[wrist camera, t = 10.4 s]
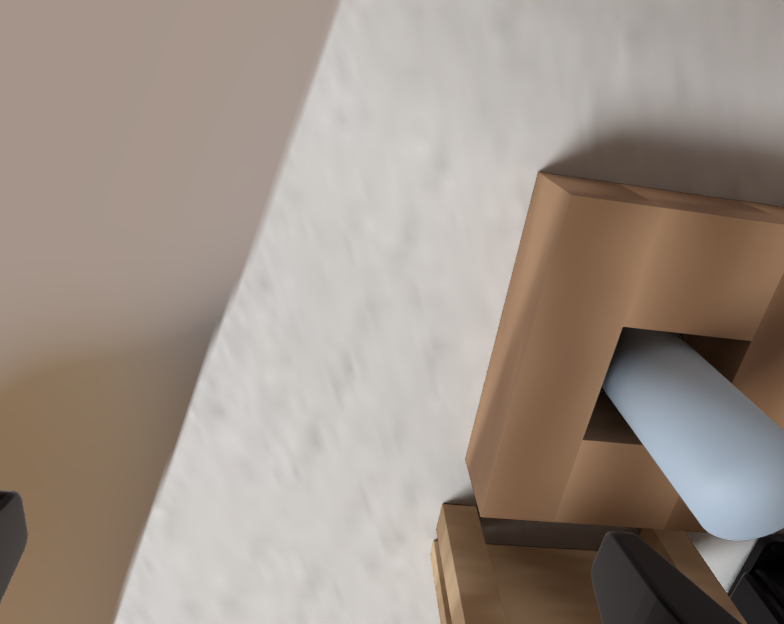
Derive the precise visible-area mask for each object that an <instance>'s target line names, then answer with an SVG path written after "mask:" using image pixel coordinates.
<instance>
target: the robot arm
mask: <svg viewBox="0 0 784 624" xmlns="http://www.w3.org/2000/svg"><path fill="white" fill-rule="evenodd" d="M27 537H28V531H27V525H26V519H25V513H24V506H23V501H22V497H21V495H20V494H19V493H18V492H15V491H6V490H0V603H1V600H2V598H3V596H4V594H5V591H6V589H7V587H8V585H9V583H10V581H11V578H12V576H13V574H14V572H15V569H16V567H17V565H18V563H19V560H20V558H21V556H22V554H23V552H24V549H25V546H26V543H27ZM591 576H592V583H593V587H594V591H595V595H596V599H597V603H598V607H599V611H600V615H601V620H602V624H742V623H741V622H740V621H738V620H737V619H736V618H735V617H734V616H733V615H731V614H730V613H729V612H728V611H727V610H725V609H724V608H723V607H722V606H721V605H719V604H718V603H717V602H716V601H715V600H714V599H712V598H711V597H710V596H709V595H708V594H706V593H705V592H704V591H703V590H702V589H700V588H699V587H698V586H697V585H696V584H695V583H693V582H692V581H691V580H690V579H689V578H687V577H686V576H685V575H684V574H683V573H681V572H680V571H679V570H678V569H677V568H676V567H674V566H673V565H672V564H671V563H670V562H668V561H667V560H666V559H665V558H664V557H662V556H661V555H660V554H659V553H658V552H657V551H655V550H654V549H653V548H652V547H651V546H649V545H648V544H647V543H646V542H645V541H643V540H642V539H641V538H640V537H639V536H637V535H636V534H634V533H632V532H625V531H609V532H608V533H606V534H605V536H604V538H603V541H602V543H601V545H600V548H599V550H598V553H597V555H596V558H595V560H594V562H593V565H592V571H591ZM728 596H729V597H730V599H731V600H732V602H733V603H734V605H735V606H736V608H737V609H738V611H739V612H740V614H741V615H742V617H743V618H744V620H745V621H746V623H747V624H784V535H774V534H771V535H767V536H764V537H762V538H761V539H760V540H759V541H758V542H757V544H756V546H755V548H754V549H753V551H752V553H751V555H750V556H749V558H748V560H747V562H746V563H745V565H744V567H743V569H742V570H741V572H740V574H739V576H738V577H737V579H736V581H735V583H734V585H733V586H732V588H731V590H730V592H729V593H728Z"/></svg>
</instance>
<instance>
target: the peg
mask: <svg viewBox="0 0 784 624" xmlns="http://www.w3.org/2000/svg"><path fill="white" fill-rule="evenodd" d="M602 388H603V390H604V391H605V392H606V394H607V395H608V397H609V398H610V399H611V401H612V402H613V404H614V405H615V406H616V408H617V409H618V410H619V412H620V413H621V415H622V416H623V417H624V419H625V420H626V422H627V423H628V424H629V426H630V427H631V428H632V430H633V431H634V433H635V434H636V435H637V437H638V438H639V440H640V441H641V442H642V444H643V445H644V447H645V448H646V449H647V451H648V452H649V453H650V455H651V456H652V458H653V459H654V460H655V462H656V463H657V465H658V466H659V467H660V469H661V470H662V471H663V473H664V474H665V476H666V477H667V478H668V480H669V481H670V483H671V484H672V485H673V487H674V488H675V490H676V491H677V492H678V494H679V495H680V496H681V498H682V499H683V501H684V502H685V503H686V505H687V506H688V508H689V509H690V510H691V512H692V513H693V515H694V516H695V517H696V519H697V520H698V521H699V523H700V524H701V525H702V527H703V528H704V529H705V530H706V531H707V532H709V533H710V534H712V535H714V536H716V537H719V538H722V539H726V540H737V541H741V540H751V539H756V538H760V537H764V536H767V535H769V534H772V533H774V532H776V531H779V530H781V529H782V528H784V430H783V429H782V428H781V427H780V426H778V425H777V424H776V423H775V422H774V421H773V420H772V419H771V418H770V417H768V416H767V415H766V414H765V413H764V412H763V411H762V410H761V409H760V408H758V407H757V406H756V405H755V404H754V403H753V402H752V401H751V400H750V399H748V398H747V397H746V396H745V395H744V394H743V393H742V392H741V391H740V390H738V389H737V388H736V387H735V386H734V385H733V384H732V383H731V382H729V381H728V380H727V379H726V378H725V377H724V376H723V375H722V374H721V373H719V372H718V371H717V370H716V369H715V368H714V367H713V366H712V365H711V364H709V363H708V362H707V361H706V360H705V359H704V358H703V357H702V356H701V355H699V354H698V353H697V352H696V351H695V350H694V349H693V348H692V347H691V346H689V345H688V344H687V343H686V342H685V341H684V340H683V339H682V338H681V337H679V336H678V335H677V334H676V333H675V332H666V331H657V330H648V329H639V328H630V327H623V328H622V331H621V334H620V336H619V339H618V342H617V345H616V348H615V350H614V353H613V356H612V359H611V362H610V364H609V367H608V370H607V373H606V376H605V378H604V381H603V384H602Z"/></svg>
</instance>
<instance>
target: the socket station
mask: <svg viewBox="0 0 784 624" xmlns="http://www.w3.org/2000/svg"><path fill="white" fill-rule="evenodd" d="M623 327H630V328H639V329H648V330H657V331H666V332H675V333H684V334H683V336H682V339H683V340H684V341H685V342H686V343H687V344H688V345H689V346H691V347H692V348H693V349H694V350H695V351H696V352H697V353H698V354H699V355H701V356H702V357H703V358H704V359H705V360H706V361H707V362H708V363H709V364H711V365H712V366H713V367H714V368H715V369H716V370H717V371H718V372H719V373H721V374H722V375H723V376H724V377H725V378H726V379H727V380H728V381H729V382H731V383H732V384H733V385H734V386H735V387H736V388H737V389H738V390H740V391H741V392H742V393H743V394H744V395H745V396H746V397H747V398H748V399H750V400H751V401H752V402H753V403H754V404H755V405H756V406H757V407H758V408H760V409H761V410H762V411H763V412H764V413H765V414H766V415H767V416H768V417H770V418H771V419H772V420H773V421H774V422H775V423H776V424H777V425H778V426H780V427H781V428H782V429H783V430H784V207H779V206H772V205H765V204H758V203H751V202H744V201H737V200H730V199H723V198H716V197H709V196H702V195H695V194H688V193H681V192H674V191H667V190H660V189H653V188H646V187H639V186H632V185H625V184H618V183H611V182H604V181H597V180H590V179H583V178H576V177H569V176H562V175H555V174H548V173H541V172H538V174H537V178H536V182H535V186H534V190H533V194H532V198H531V202H530V206H529V210H528V214H527V218H526V222H525V225H524V229H523V233H522V237H521V241H520V245H519V249H518V253H517V257H516V261H515V265H514V269H513V273H512V277H511V281H510V285H509V289H508V292H507V296H506V300H505V304H504V308H503V312H502V316H501V320H500V324H499V328H498V332H497V336H496V340H495V344H494V348H493V352H492V356H491V359H490V363H489V367H488V371H487V375H486V379H485V383H484V387H483V391H482V395H481V399H480V403H479V407H478V411H477V415H476V419H475V423H474V426H473V430H472V434H471V438H470V442H469V446H468V450H467V454H466V458H465V461H466V464H467V468H468V472H469V476H470V480H471V483H472V487H473V491H474V495H475V498H476V502H477V506H478V510H479V513H480V517H486V518H501V519H516V520H530V521H545V522H560V523H574V524H589V525H604V526H618V527H633V528H642V530H641V532H640V534H639V537H640V538H641V539H642V540H643V541H645V542H646V543H647V544H648V545H649V546H651V547H652V548H653V549H654V550H655V551H657V552H658V553H659V554H660V555H661V556H662V557H664V558H665V559H666V560H667V561H668V562H670V563H671V564H672V565H673V566H674V567H676V568H677V569H678V570H679V571H680V572H681V573H683V574H684V575H685V576H686V577H687V578H689V579H690V580H691V581H692V582H693V583H695V584H696V585H697V586H698V587H699V588H700V589H702V590H703V591H704V592H705V593H706V594H708V595H709V596H710V597H711V598H712V599H714V600H715V601H716V602H717V603H718V604H719V605H721V606H722V607H723V608H724V609H725V610H727V611H728V612H729V613H730V614H731V615H733V616H734V617H735V618H736V619H737V620H738V621H740V622H741V623H742V624H747V623H746V621H745V620H744V618H743V617H742V615H741V614H740V612H739V611H738V609H737V608H736V606H735V605H734V603H733V602H732V600H731V599H730V597H729V596H728V595H727V593H726V592H725V590H724V589H723V587H722V586H721V584H720V583H719V581H718V580H717V578H716V577H715V575H714V574H713V572H712V571H711V570H710V568H709V567H708V565H707V564H706V562H705V561H704V559H703V558H702V556H701V555H700V553H699V552H698V550H697V549H696V547H695V546H694V544H693V543H692V542H691V540H690V539H689V537H688V536H687V534H686V533H685V531H691V532H706V533H709V532H707V531H706V530H705V529H704V528H703V527H702V525H701V524H700V523H699V521H698V520H697V519H696V517H695V516H694V515H693V513H692V512H691V510H690V509H689V508H688V506H687V505H686V503H685V502H684V501H683V499H682V498H681V496H680V495H679V494H678V492H677V491H676V490H675V488H674V487H673V485H672V484H671V483H670V481H669V480H668V478H667V477H666V476H665V474H664V473H663V471H662V470H661V469H660V467H659V466H658V465H657V463H656V462H655V460H654V459H653V458H652V456H651V455H650V453H649V452H648V451H647V449H646V448H645V447H644V445H643V444H642V442H641V441H640V440H639V438H638V437H637V435H636V434H635V433H634V431H633V430H632V428H631V427H630V426H629V424H628V423H627V422H626V420H625V419H624V417H623V416H622V415H621V413H620V412H619V410H618V409H617V408H616V406H615V405H614V404H613V402H612V401H611V399H610V398H609V397H608V395H607V394H599V393H600V390H601V387H602V384H603V381H604V378H605V376H606V373H607V370H608V367H609V364H610V362H611V359H612V356H613V353H614V350H615V348H616V345H617V342H618V339H619V336H620V334H621V331H622V328H623ZM436 531H437V537H438V541H433V545H432V549H431V553H430V554H431V561H432V568H433V575H434V581H435V588H436V595H437V602H438V608H439V615H440V622H441V624H602V620H601V615H600V611H599V607H598V603H597V599H596V595H595V591H594V587H593V583H592V576H591V571H592V565H593V562H594V560H595V558H596V555H597V553H598V551H588V550H572V549H556V548H540V547H524V546H508V545H492V544H486V543H485V539H484V535H483V531H482V528H481V524H480V520H479V516H478V512H477V509H476V506H465V505H451V504H442V508H441V512H440V516H439V520H438V524H437V528H436Z"/></svg>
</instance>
